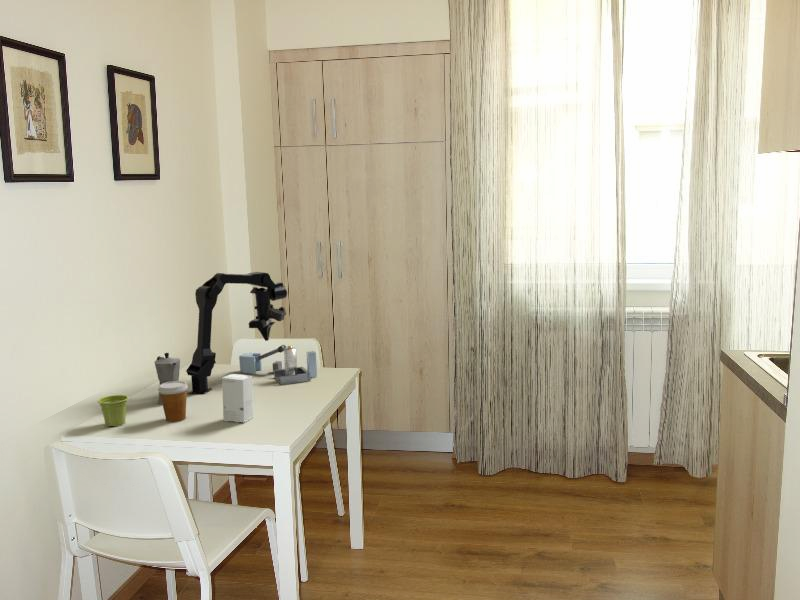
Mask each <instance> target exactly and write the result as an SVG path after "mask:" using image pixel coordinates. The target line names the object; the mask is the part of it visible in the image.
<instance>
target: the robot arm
mask: <svg viewBox="0 0 800 600" xmlns="http://www.w3.org/2000/svg"><path fill="white" fill-rule="evenodd" d="M226 284H242V285H244V284H245V285H250V286H254V287H252V289H251V290H250V292H249V294H253V295H254V296H255V297H254V298H255V304H256V305H255V306H254V310H256V316H255V318H254V319H252V320H250V321H249V322H248V328H249V329H257V331H259V332H260V334H261V337H262V338H263V339H264V341H265V342H267V341H269V339H270V338H269V337H270V333H271V329H272V326H273V325H274V324H275V323H276V322H275V321H273V320H276V321H277V322H281V321H284V320H285V316H286V315H287V313H286V312H287V311H286V309H285V307H283V306H280V307H279V308H275V307H274V305H273V303H272V302H274V301H279V300H283V299H286V298H287V296H288V291H287V289H286V287H285V285H284V283H283V282H277V283H275V282H274V281H273V279H272V278H271V276H270V274H269V273H268V272H261V271H253V272H249V273H244V274H243V273H242V274H241V273H224V272H223V273H221V272H216V273H215V274H214V275H213V276H212V277H211V278H209V279H208V280H206V281H205V282H204V283H203V284H202V285H201V286H199V287H197V288H196V290H195V293H194V295H195V302H196V305H197V308H198V323H197V324H198V325H197V326H198V327H197V328H198V329H197V346H196V349H195V351H194V352H193V354H192V360H191V363H190V364H189V365H188V367H187V369H185V371H186V374H187V376H191V378H190V379H191V390H190V391H188V394H202V395H203V394H207V393H208V392H210V391H211V390H213V388H212V387H209V382H208V381H209V380H208V377H211V374H212V371H213V369H214V367H215V364H216V363H217V362H216V355H217V353H216V352H213V351H212V349H211V344H212V343H211V342H212V323H213V310H214V308H215V306H216V304H217V301H218V298H219V297H218V296H219V295H220V294H221V293H222V291H223V289H224V287H225V285H226ZM258 287H260V288H258ZM271 301H272V302H271ZM272 319H273V320H272Z"/></svg>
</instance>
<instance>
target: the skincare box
mask: <svg viewBox="0 0 800 600" xmlns="http://www.w3.org/2000/svg"><path fill="white" fill-rule="evenodd" d="M221 384H222V387H221V388H222V414H223V415H222V416H223V419H222V420H223V422H228V421H235V422H234V423H239V422H243V423H242V424H244V422H245V423H247V422H248V420H249V421H251V420H252V419H254V413H253V412H254V407H253V405H254V404H253V403H254V401H253V376H252V375H248V374H239V373H237V374H235V373H229V374H228V375H225V376H223V377H222V383H221ZM250 419H251V420H250ZM246 421H247V422H246Z"/></svg>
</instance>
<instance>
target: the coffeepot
mask: <svg viewBox="0 0 800 600" xmlns="http://www.w3.org/2000/svg"><path fill="white" fill-rule="evenodd" d="M163 354H164V357H163V356H157V357H156V360H155V361H154V367H155V369H156V375H157V378H158V383H159V385H158V387H159V386H160V385H161V384H163V383H166V382H172V381H180V379H179V378H180V367H181V359H180V358H177V357H169V352H165V353H163ZM157 401H158V404H159V405H163V404H162V400H161V395H160V393H159V392H158V399H157Z"/></svg>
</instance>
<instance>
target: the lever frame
mask: <svg viewBox="0 0 800 600" xmlns="http://www.w3.org/2000/svg"><path fill="white" fill-rule="evenodd" d="M261 355H262V352H249V353H248V352H247V353H246V352H245V353H242V354H241V355H239V356H238V358H239V370H240V371H239V373H240V372H244V373H252V374H251V375H256V374H257V371H263V365H262V359H261V360H258V361H256V360H255V358H256V357H258V356H261ZM281 369H283V361H280V360H276V361H274V362H273V363H272V374H273V375H274V370H281ZM244 373H243V374H244ZM255 373H256V374H255Z"/></svg>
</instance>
